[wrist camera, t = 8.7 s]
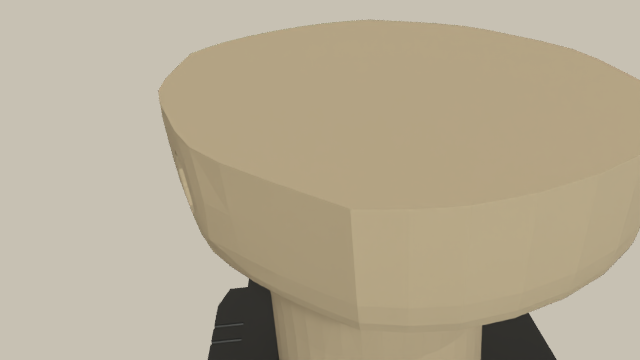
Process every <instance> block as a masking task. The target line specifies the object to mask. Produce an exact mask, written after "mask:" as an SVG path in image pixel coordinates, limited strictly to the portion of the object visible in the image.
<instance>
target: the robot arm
mask: <svg viewBox="0 0 640 360" xmlns="http://www.w3.org/2000/svg"><path fill="white" fill-rule="evenodd" d="M208 360H279V354H278V346H277V337H276V329H275V321H274V313H273V305H272V297H271V292H270V290H269V289H267V288H265V287H263V286H261V285H259V284H257V283H256V282H254V281H252V280H251V279H249V283H248V287H245V288H235V289H230V291H229V292H228V293H227V294H226V296H225V297H224V299H223V300H222V302H221V303H220V304H219V306H218V310H217V315H216V320H215V329H214V330H213V336H212V345H211V346H210V351H209V357H208ZM481 360H556V358H555V356H554V355H553V353H552V351H551V350H550V348H549V347H548V345H547V343H546V341H545V340H544V338H543V336H542V335H541V333H540V331H539V330H538V328H537V326H536V325H535V323H534V321H533V320H532V318H531V316H530V315H529V313H526V314H524V315H521V316H518V317H516V318H512V319H508V320H504V321H499V322H495V323H490V324H486V325H482V340H481Z"/></svg>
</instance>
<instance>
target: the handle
mask: <svg viewBox="0 0 640 360" xmlns="http://www.w3.org/2000/svg"><path fill="white" fill-rule="evenodd" d="M158 92H159V100H160V105H161V110H162V117H163V121H164V125H165V128H166V132H167V136H168V140H169V144H170V147H171V151H172V154H173V158H174V162H175V165H176V168H177V171H178V174H179V178H180V181H181V183H182V186H183V189H184V192H185V195H186V197H187V200H188V202H189V205H190V208H191V211H192V213H193V216H194V218H195V220H196V222H197V225H198V226H199V229H200V231H201V233H202V235H203V237H204V238H205V239H206V241H207V243H208V244H209V246H210V247H211V248H212V250H213V252H215V253H216V254H217V255H218V256H219V257H220V258H222V259H223V260H224V261H225V262H226V263H228V264H229V265H230V266H231V267H233V268H234V269H236V270H237V271H239V272H240V273H242V274H243V275H245V276H247V277H248V278H249V279H251V280H252V281H254V282H256V283H257V284H259V285H261V286H263V287H265V288H267V289H269V290H270V292H271V297H272V305H273V313H274V321H275V329H276V337H277V346H278V354H279V360H481V340H482V325H486V324H490V323H495V322H499V321H504V320H508V319H512V318H516V317H518V316H521V315H524V314H526V313H529V312H531V311H534V310H536V309H539V308H541V307H544V306H546V305H549V304H552V303H554V302H557V301H559V300H562V299H564V298H566V297H568V296H569V295H571V294H573V293H574V292H576V291H578V290H579V289H581V288H582V287H584V286H585V285H587V284H589V283H590V282H592V281H594V280H595V279H597V278H598V277H600V276H602V275H603V274H605V272H606V271H607V270H608V269H609V268H610V267H611V266H612V265H613V264H614V263H615V262H616V261H617V260H618V259H619V258H620V257H621V256H622V255H623V254H624V253H625V252H626V251H627V250H628V249H629V247H630V246H631V245H632V243H633V242H634V240H635V237H636V235H637V233H638V231H639V228H640V80H638V79H636V78H634V77H633V76H631V75H629V74H627V73H625V72H623V71H621V70H619V69H617V68H615V67H613V66H611V65H609V64H607V63H605V62H603V61H601V60H599V59H597V58H594V57H592V56H589V55H586V54H584V53H581V52H579V51H576V50H574V49H570V48H567V47H563V46H558V45H555V44H551V43H547V42H543V41H538V40H533V39H528V38H524V37H519V36H515V35H509V34H505V33H500V32H495V31H490V30H485V29H479V28H473V27H467V26H458V25H447V24H437V23H421V22H401V21H383V20H356V21H343V22H332V23H323V24H316V25H308V26H301V27H295V28H289V29H283V30H278V31H272V32H267V33H262V34H257V35H252V36H248V37H244V38H240V39H236V40H231V41H227V42H224V43H220V44H217V45H214V46H211V47H208V48H205V49H202V50H199V51H197V52H194V53H191V54H190V55H189V56H188V57H187V58H186V59H185V60H184V61H183V62H181V64H180V65H178V66H177V67H176V68H175V69H174V70H173V71H172V73H171V74H170V75H169V76H168V77H167V78H166V79H165V80H164V82H163V84H162V85H161V87H160V89H159V91H158Z"/></svg>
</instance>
